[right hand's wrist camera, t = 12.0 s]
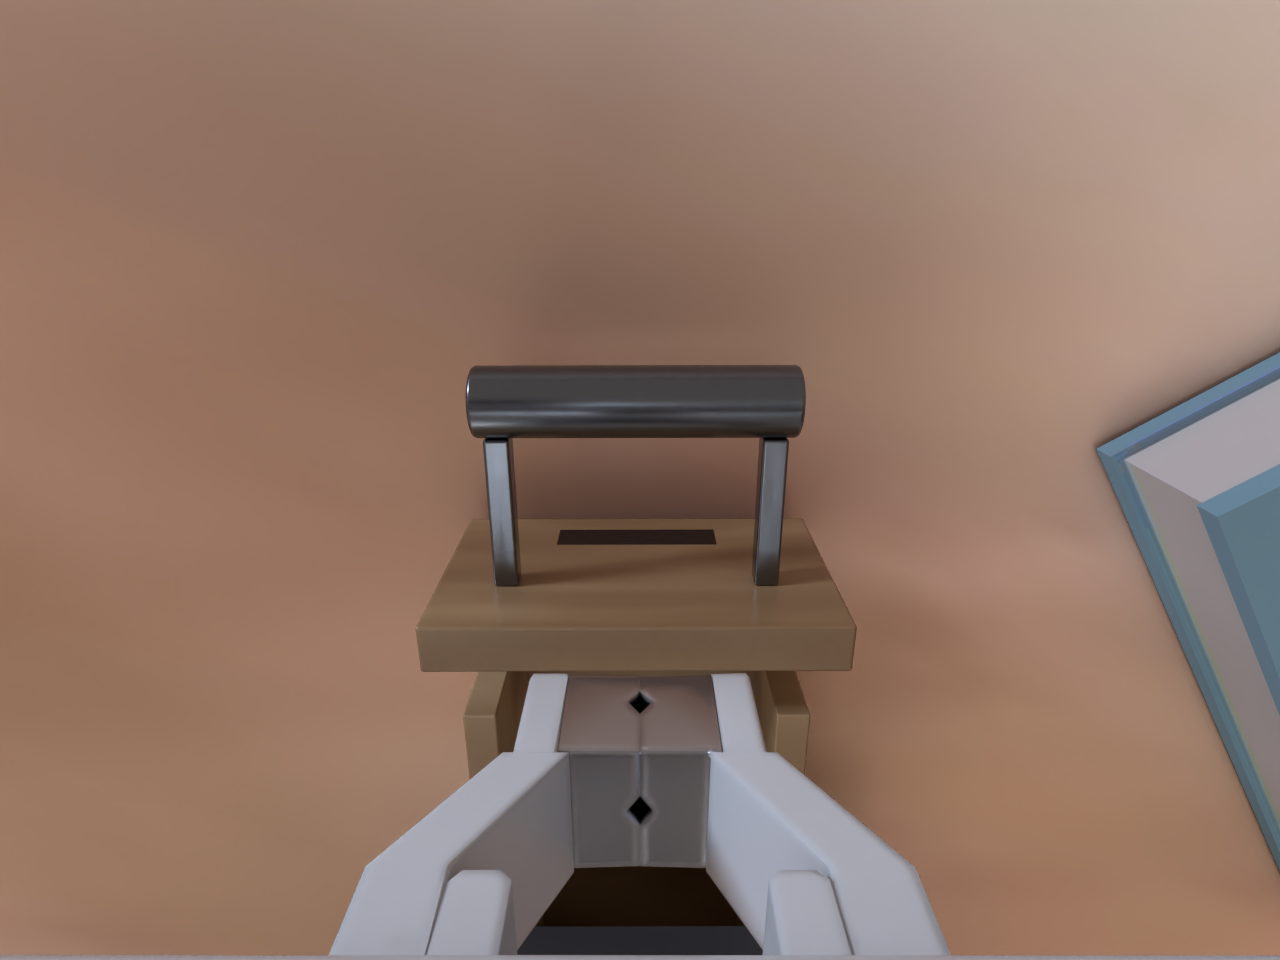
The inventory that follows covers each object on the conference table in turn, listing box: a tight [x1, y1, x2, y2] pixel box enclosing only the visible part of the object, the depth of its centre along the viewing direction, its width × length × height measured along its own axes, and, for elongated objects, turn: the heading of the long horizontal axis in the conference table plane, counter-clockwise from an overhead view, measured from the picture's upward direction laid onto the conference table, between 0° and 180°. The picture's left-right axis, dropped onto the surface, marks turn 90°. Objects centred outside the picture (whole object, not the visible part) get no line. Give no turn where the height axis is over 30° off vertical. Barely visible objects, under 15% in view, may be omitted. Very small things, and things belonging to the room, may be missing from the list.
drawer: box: [416, 365, 857, 926], centre depth 22 cm, size 24×10×6 cm, turn 0°
